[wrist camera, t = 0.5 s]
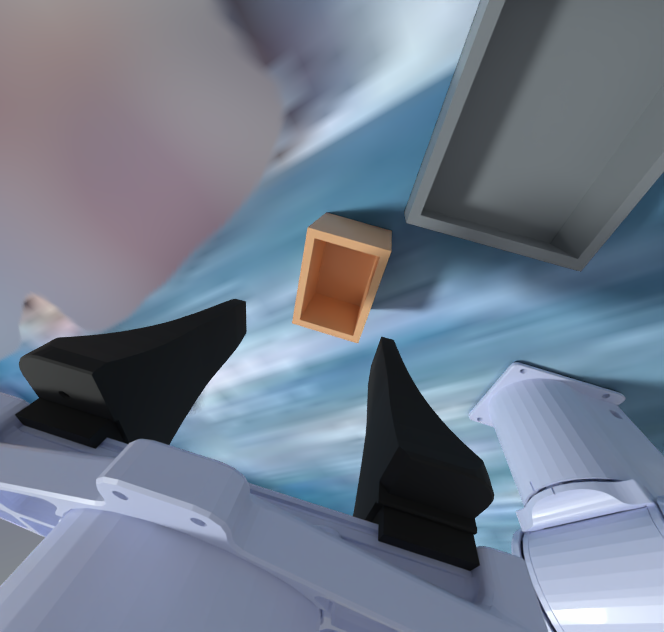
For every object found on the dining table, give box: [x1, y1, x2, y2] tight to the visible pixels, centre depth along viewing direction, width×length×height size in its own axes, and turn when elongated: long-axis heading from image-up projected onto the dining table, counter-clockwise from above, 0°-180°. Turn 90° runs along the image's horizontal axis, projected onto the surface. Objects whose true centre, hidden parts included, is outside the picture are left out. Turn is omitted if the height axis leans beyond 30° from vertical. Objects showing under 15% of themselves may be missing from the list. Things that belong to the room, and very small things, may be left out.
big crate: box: [404, 0, 664, 272], centre depth 13 cm, size 10×12×4 cm
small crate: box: [292, 213, 392, 343], centre depth 19 cm, size 5×7×5 cm
